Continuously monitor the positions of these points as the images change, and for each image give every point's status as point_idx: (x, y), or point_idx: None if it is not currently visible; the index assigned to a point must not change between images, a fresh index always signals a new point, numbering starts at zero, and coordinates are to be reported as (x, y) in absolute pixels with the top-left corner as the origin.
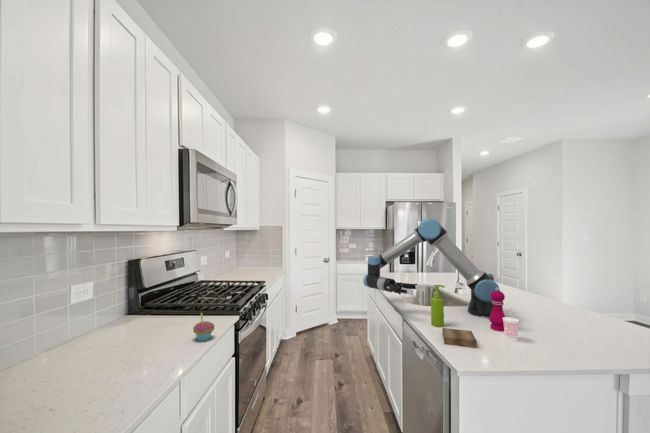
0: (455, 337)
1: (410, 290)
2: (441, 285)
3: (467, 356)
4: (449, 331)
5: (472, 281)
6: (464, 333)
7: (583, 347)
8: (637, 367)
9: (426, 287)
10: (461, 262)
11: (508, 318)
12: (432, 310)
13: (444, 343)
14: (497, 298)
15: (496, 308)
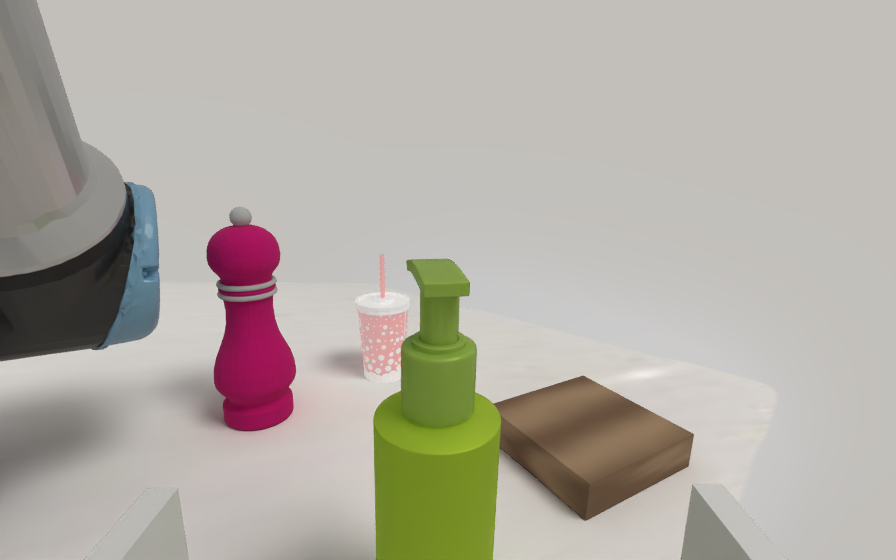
0: (641, 412)
1: (747, 529)
2: (424, 260)
3: (678, 398)
4: (601, 446)
5: (112, 215)
6: (553, 409)
7: (312, 310)
8: (379, 285)
9: (163, 499)
10: (39, 17)
11: (386, 299)
12: (493, 530)
13: (688, 462)
14: (279, 258)
15: (273, 313)
